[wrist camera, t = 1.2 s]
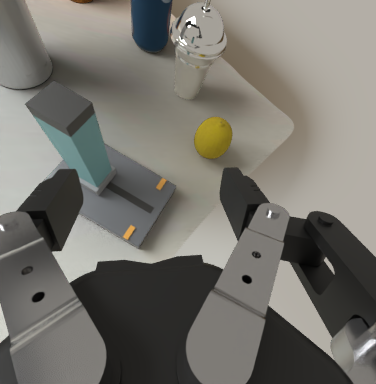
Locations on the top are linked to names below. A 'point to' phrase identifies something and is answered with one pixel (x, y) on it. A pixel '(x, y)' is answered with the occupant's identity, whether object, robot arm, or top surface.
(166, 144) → the top surface
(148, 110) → the top surface
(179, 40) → the cup with straw
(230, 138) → the lemon
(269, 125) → the top surface
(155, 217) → the slider track
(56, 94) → the slider tab
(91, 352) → the robot arm
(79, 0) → the disposable coffee cup
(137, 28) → the soda can
